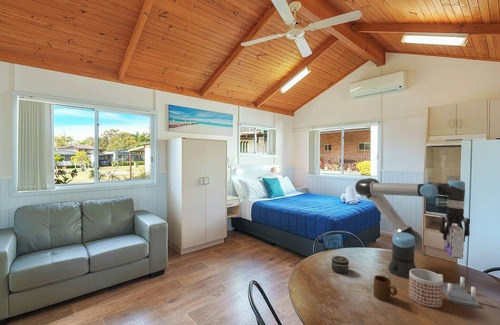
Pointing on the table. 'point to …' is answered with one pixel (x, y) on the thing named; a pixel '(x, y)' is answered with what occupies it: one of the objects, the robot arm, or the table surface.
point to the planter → (426, 288)
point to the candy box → (455, 241)
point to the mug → (383, 288)
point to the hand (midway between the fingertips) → (453, 246)
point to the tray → (460, 293)
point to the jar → (340, 264)
